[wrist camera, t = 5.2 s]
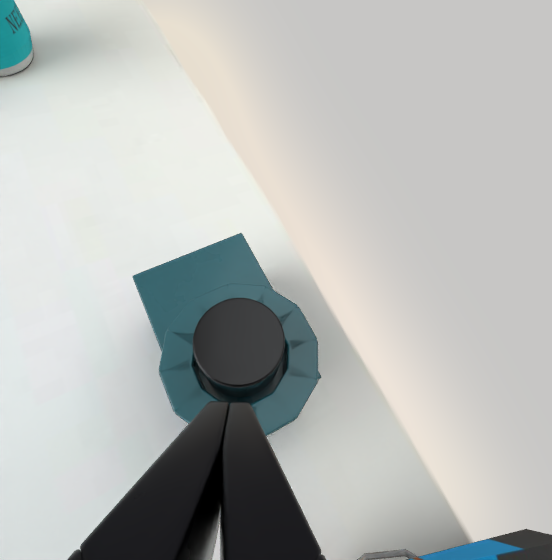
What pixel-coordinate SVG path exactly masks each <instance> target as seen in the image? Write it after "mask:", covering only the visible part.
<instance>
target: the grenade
mask: <svg viewBox="0 0 552 560" xmlns="http://www.w3.org/2000/svg"><path fill="white" fill-rule="evenodd" d="M400 556H406V557H408V558H409V559H408V560H552V535H549V534H544V533H541V532H536V531H532V530H527V529H525V530H521V531H517V532H513V533H509V534H505V535H501V536H497V537H493V538H490V539H486V540H482V541H478V542H474V543H470V544H466V545H462V546H458V547H455V548H451V549H447V550H443V551H439V552H435V553H431V554H427V555H424V556H420V557H417V556H416V555H414V554H412V553H411V552H409V551H407V550H406V549H403V550H394V551H385V552H375V553H366V554H364V555H362V556H361V557H360V558H358V559H357V560H373V559H382V558H391V557H400Z"/></svg>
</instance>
